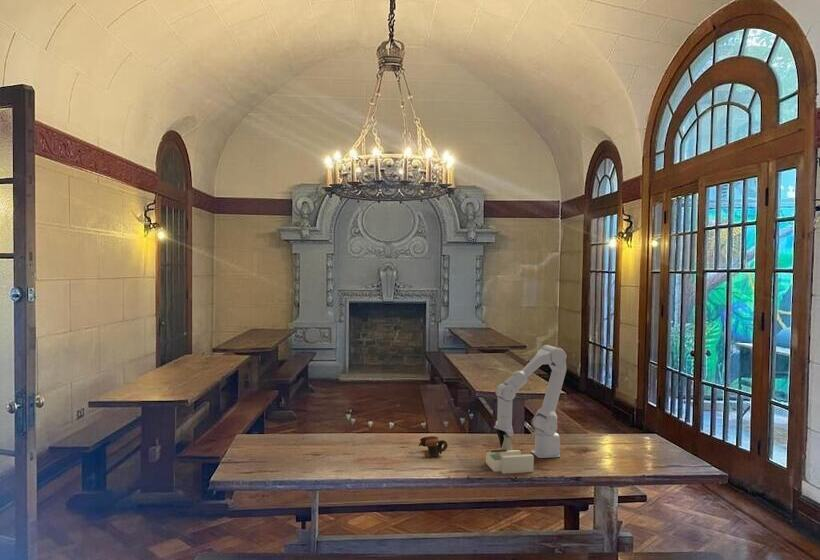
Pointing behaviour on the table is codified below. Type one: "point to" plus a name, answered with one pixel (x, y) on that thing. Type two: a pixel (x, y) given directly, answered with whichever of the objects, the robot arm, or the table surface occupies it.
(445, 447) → the pottery mug
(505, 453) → the pad
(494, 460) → the gauge frame
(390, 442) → the table surface
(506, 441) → the grey vase
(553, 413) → the robot arm
